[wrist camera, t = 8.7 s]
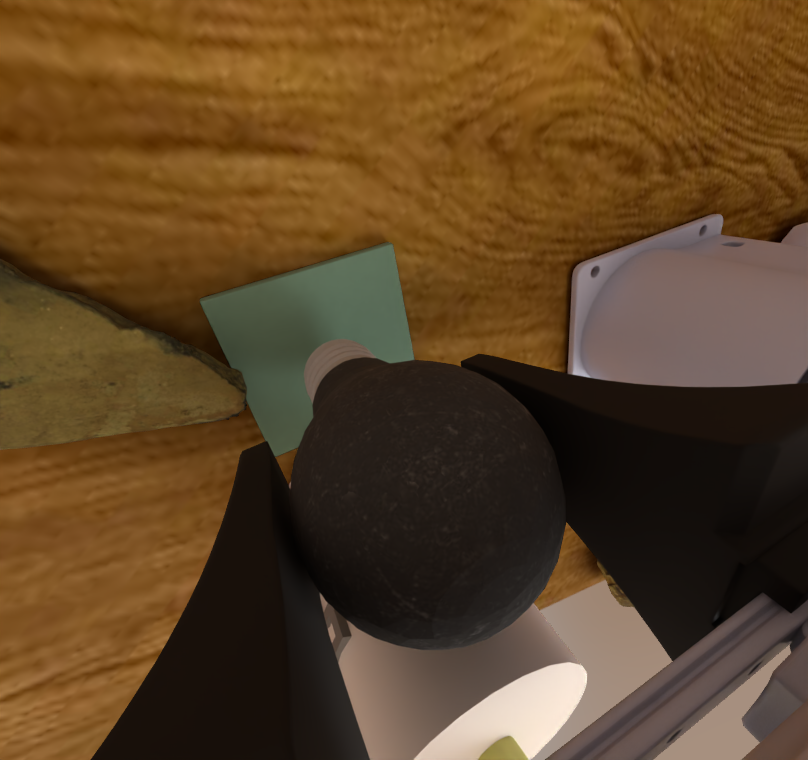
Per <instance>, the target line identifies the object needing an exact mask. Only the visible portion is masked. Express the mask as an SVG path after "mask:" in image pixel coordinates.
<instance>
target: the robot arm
mask: <svg viewBox="0 0 808 760" xmlns="http://www.w3.org/2000/svg"><path fill="white" fill-rule="evenodd" d="M722 225H723V216H722V215H719V214H711V215H708V216H706V217H703V218H700V219H698V220H695V221H692V222H689V223H687V224H684V225H681V226H679V227H676V228H673V229H670V230H668V231H665V232H662V233H660V234H657V235H654V236H651V237H649V238H646V239H643V240H641V241H638V242H635V243H632V244H630V245H627V246H624V247H622V248H619V249H616V250H613V251H611V252H608V253H605V254H603V255H600V256H597V257H594V258H592V259H589V260H586V261H584V262H581V263H579V264H578V265H577V266H576V267H575V269H574V271H573V274H572V290H571V311H570V333H569V354H568V373H563V372H558V371H553V370H549V369H545V368H540V367H536V366H532V365H528V364H524V363H519V362H515V361H511V360H507V359H503V358H499V357H494V356H489V355H484V354H477V355H475V356H473V357H470V358H468V359H465V360H463V361H461V367H463V368H466V369H468V370H470V371H473V372H476V373H478V374H480V375H482V376H484V377H486V378H488V379H490V380H492V381H494V382H496V383H498V384H499V385H500V386H501V387H503V388H504V389H505V390H506V391H508V392H509V393H510V394H511V395H512V396H514V397H515V398H516V399H517V400H518V401H519V402H520V403H521V404H523V405H524V406H525V407H526V408H527V409H528V410H529V412H530V413H531V414H532V416H533V417H534V419H535V420H536V421H537V423H538V424H539V425H540V427H541V428H542V429H543V431H544V433H545V435H546V437H547V439H548V441H549V442H550V444H551V446H552V448H553V450H554V452H555V456H556V460H557V464H558V468H559V471H560V475H561V480H562V484H563V489H564V493H565V499H566V522H567V523H568V524H569V525H570V527H571V528H572V529H573V530H574V531H575V532H576V534H577V535H578V536H579V537H580V538H581V540H582V541H583V542H584V543H585V544H586V546H587V547H588V548H589V549H590V551H591V552H592V553H593V554H594V555H595V557H596V558H597V559H598V560H599V562H600V563H601V564H602V565H603V567H604V568H605V569H606V571H607V572H608V573H609V574H610V576H611V577H612V578H613V580H614V581H615V582H616V584H617V585H618V586H619V587H620V589H621V590H622V591H623V593H624V594H625V595H626V596H627V598H628V599H629V600H630V602H631V603H632V605H633V606H634V607H635V609H636V610H637V611H638V613H639V614H640V616H641V617H642V618H643V620H644V621H645V622H646V624H647V625H648V627H649V628H650V629H651V631H652V632H653V634H654V635H655V636H656V638H657V639H658V641H659V642H660V643H661V645H662V646H663V648H664V649H665V651H666V652H667V654H668V655H669V656H670V658H671V659H672V661H673V662H671V663H670V664H669V665H667V666H666V667H665V668H664V669H663V670H661V671H660V672H658V673H657V674H656V675H655V676H653V677H652V678H651V679H649V680H648V681H647V682H645V683H644V684H643V685H642V686H640V687H639V688H638V689H636V690H635V691H634V692H632V693H631V694H630V695H629V696H627V697H626V698H625V699H623V700H622V701H621V702H619V703H618V704H617V705H616V706H614V707H613V708H612V709H610V710H609V711H608V712H606V713H605V714H604V715H603V716H601V717H600V718H599V719H597V720H596V721H595V722H594V723H592V724H591V725H590V726H588V727H587V728H586V729H584V730H583V731H582V732H580V733H579V734H578V735H577V736H575V737H574V738H573V739H571V740H570V741H569V742H568V743H566V744H565V745H564V746H562V747H561V748H560V749H558V750H557V751H556V752H554V753H553V754H552V755H551V756H549V757H548V758H547V759H545V760H653V759H654V758H656V757H657V756H658V755H659V754H660V753H661V752H663V751H664V750H665V749H666V748H667V747H668V746H670V745H671V744H672V743H673V742H674V741H676V740H677V739H678V738H679V737H680V736H682V735H683V734H684V733H685V732H686V731H687V730H689V729H690V728H691V727H692V726H693V725H695V724H696V723H697V722H698V721H699V720H701V719H702V718H703V717H704V716H705V715H706V714H708V713H709V712H710V711H711V710H712V709H713V708H715V707H716V706H717V705H718V704H719V703H720V702H722V701H723V700H724V699H725V698H727V697H728V696H729V695H730V694H731V693H732V692H733V691H735V690H736V689H737V688H738V687H739V686H741V685H742V684H743V683H744V682H745V681H747V680H748V679H749V678H750V677H751V676H753V675H754V674H755V673H756V672H757V671H758V670H759V669H761V668H762V667H763V666H764V665H766V664H767V663H768V662H769V661H770V660H772V659H773V658H774V657H775V656H776V655H777V654H779V653H780V652H781V651H782V650H783V649H785V648H786V647H787V646H788V645H789V644H790V643H791V644H790V649H791V654H790V655H789V656H788V657H787V658H786V659H785V660H784V661H783V662H782V663H781V664H780V665H779V666H778V667H777V668H776V669H775V670H774V672H773V673H772V676H771V678H770V680H769V682H768V684H767V686H766V687H765V689H764V690H763V692H762V693H761V695H760V696H759V698H758V699H757V700H756V702H755V703H754V704H753V705H752V706H751V708H750V709H749V710H748V712H747V713H746V714H745V715H744V717H743V718H742V721H743V726H745V728H746V729H747V730H748V731H749V732H750V733H751V734H752V735H753V736H754V737H755V738H756V739H757V740H758V741H759V742H760V743H759V744H758V745H757V746H756V747H755V748H754V749H753V750H752V751H751V752H750V753H748V754H747V755H746V756H745V757H744V758H743V759H742V760H808V247H804V246H797V245H790V244H783V243H776V242H769V241H762V240H755V239H747V238H740V237H733V236H726V235H720V234H721V229H722ZM591 270H592V272H591ZM289 495H290V488H289V486H288V484H287V481H286V479H285V477H284V475H283V473H282V471H281V469H280V467H279V464H278V462H277V460H276V458H275V456H274V454H273V452H272V450H271V448H270V445H269V443H268V441H266V442H263V443H261V444H258V445H256V446H253V447H251V448H249V449H246V450H244V451H242V453H241V455H240V458H239V463H238V468H237V472H236V477H235V481H234V485H233V488H232V492H231V496H230V499H229V502H228V505H227V509H226V512H225V515H224V518H223V521H222V524H221V527H220V530H219V532H218V535H217V538H216V540H215V543H214V545H213V548H212V551H211V553H210V556H209V558H208V561H207V563H206V565H205V568H204V570H203V572H202V575H201V577H200V579H199V581H198V583H197V585H196V587H195V590H194V592H193V594H192V596H191V598H190V600H189V602H188V604H187V606H186V608H185V610H184V612H183V613H182V615H181V617H180V619H179V621H178V623H177V625H176V627H175V628H174V630H173V632H172V634H171V636H170V638H169V640H168V641H167V643H166V645H165V647H164V648H163V650H162V652H161V654H160V655H159V657H158V659H157V660H156V662H155V664H154V665H153V667H152V669H151V670H150V672H149V673H148V675H147V676H146V678H145V680H144V681H143V683H142V684H141V686H140V688H139V689H138V691H137V692H136V694H135V695H134V697H133V699H132V700H131V702H130V703H129V705H128V706H127V708H126V709H125V711H124V712H123V714H122V715H121V717H120V718H119V720H118V721H117V723H116V724H115V726H114V727H113V729H112V730H111V732H110V733H109V735H108V736H107V738H106V739H105V740H104V742H103V743H102V745H101V746H100V748H99V749H98V750H97V752H96V753H95V754H94V756H93V757H92V759H91V760H370V758H369V755H368V752H367V749H366V746H365V743H364V740H363V737H362V734H361V731H360V728H359V725H358V722H357V719H356V716H355V713H354V710H353V707H352V704H351V701H350V698H349V695H348V691H347V688H346V685H345V682H344V679H343V676H342V673H341V670H340V667H339V664H338V661H337V657H336V654H335V651H334V648H333V645H332V642H331V639H330V636H329V632H328V628H327V624H326V621H325V617H324V613H323V608H322V603H321V599H320V594H319V591H318V589H317V588H316V586H315V584H314V582H313V581H312V579H311V578H310V576H309V574H308V572H307V570H306V568H305V566H304V564H303V562H302V560H301V557H300V555H299V553H298V551H297V549H296V545H295V540H294V536H293V532H292V524H291V514H290V505H289Z"/></svg>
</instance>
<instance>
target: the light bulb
mask: <svg viewBox="0 0 808 760" xmlns="http://www.w3.org/2000/svg"><path fill="white" fill-rule="evenodd" d="M304 380H305V386H306V390H307V393H308V395H309V397H310V399H311V402H312V403H313V405H312V408H313V419H312V420H311V422H310V423H309V425H308V427H307V428H306V430H305V432H304V435H303V437H302V440H301V442H300V445H299V447H298V450H297V454H296V456H295V459H294V463H293V469H292V475H291V487H290V495H289V505H290V514H291V524H292V532H293V536H294V540H295V545H296V549H297V551H298V553H299V555H300V557H301V560H302V562H303V564H304V566H305V568H306V570H307V572H308V574H309V576H310V578H311V579H312V581H313V582H314V584H315V586H316V588H317V589H318V591H319V592H320V593H321V594H322V596H323V598H324V599H325V601H326V602H327V603H329V604H330V605H331V606H332V607H333V608H334V609H335V610H336V611H337V612H338V613H339V614H340V615H342V616H343V617H344V618H345V619H346V620H347V621H349V622H350V623H351V624H353V625H354V626H355V627H356V628H357V629H359V630H361V631H363V632H364V633H366V634H368V635H370V636H372V637H374V638H376V639H379V640H382V641H385V642H388V643H391V644H394V645H397V646H402V647H408V648H413V649H419V650H445V649H454V648H462V647H467V646H470V645H472V644H475V643H478V642H481V641H484V640H487V639H488V638H490V637H492V636H493V635H495V634H497V633H498V632H500V631H502V630H503V629H505V628H506V627H508V626H510V625H511V624H512V623H513V622H515V621H516V620H517V619H518V618H519V617H520V616H521V615H522V614H523V613H524V612H526V611H527V610H528V609H529V608H530V606H531V605H532V604H533V603H534V601H535V600H536V599H537V598H538V596H539V595H540V594H541V593H542V591H543V590H544V589H545V587H546V585H547V583H548V580H549V578H550V576H551V574H552V572H553V570H554V568H555V566H556V564H557V562H558V558H559V553H560V549H561V544H562V540H563V535H564V531H565V526H566V499H565V493H564V489H563V484H562V480H561V475H560V471H559V468H558V464H557V460H556V456H555V452H554V450H553V448H552V446H551V444H550V442H549V441H548V439H547V437H546V435H545V433H544V431H543V429H542V428H541V427H540V425H539V424H538V423H537V421H536V420H535V419H534V417H533V416H532V414H531V413H530V412H529V410H528V409H527V408H526V407H525V406H524V405H523V404H521V403H520V402H519V401H518V400H517V399H516V398H515V397H514V396H512V395H511V394H510V393H509V392H508V391H506V390H505V389H504V388H503V387H501V386H500V385H499V384H498V383H496V382H494V381H492V380H490V379H488V378H486V377H484V376H482V375H480V374H478V373H476V372H473V371H470V370H468V369H466V368H463V367H459V366H456V365H452V364H446V363H440V362H433V361H421V360H411V361H403V362H396V363H388V362H386V361H383V360H380V359H378V358H376V357H375V356H374V355H373V354H372V353H371V352H370V351H369V350H368V349H367V348H366V347H365V346H363V345H361V344H359V343H357V342H355V341H353V340H347V339H337V340H331V341H329V342H326V343H324V344H322V345H321V346H320V347H318V348H317V349H316V350H315V351H314V352H313V353H312V354H311V355H310V357H309V358H308V360H307V363H306V365H305V370H304Z"/></svg>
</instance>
